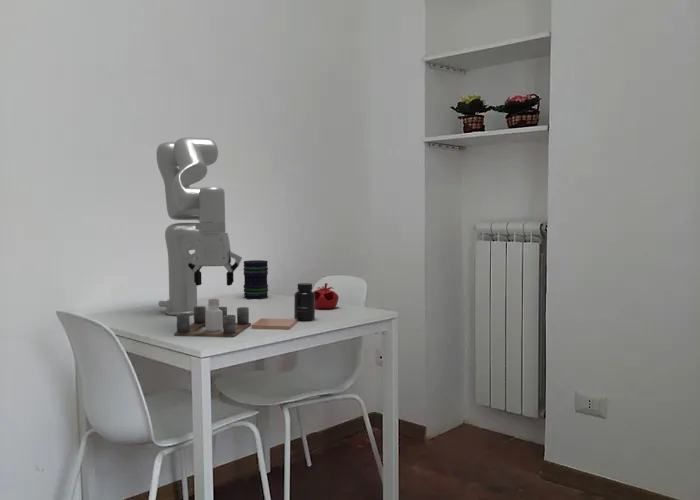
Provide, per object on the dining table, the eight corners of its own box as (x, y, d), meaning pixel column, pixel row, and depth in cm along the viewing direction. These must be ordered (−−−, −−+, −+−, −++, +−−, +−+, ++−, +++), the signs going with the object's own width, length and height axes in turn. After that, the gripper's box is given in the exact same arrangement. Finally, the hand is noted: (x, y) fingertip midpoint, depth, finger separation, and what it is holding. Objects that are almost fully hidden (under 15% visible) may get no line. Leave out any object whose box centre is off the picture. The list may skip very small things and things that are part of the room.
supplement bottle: (299, 322, 209) (299, 285, 208) (291, 318, 215) (290, 283, 214) (318, 320, 212) (318, 284, 211) (310, 317, 218) (309, 282, 217)
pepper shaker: (215, 328, 198) (214, 298, 198) (223, 330, 196) (223, 299, 195) (204, 330, 195) (204, 299, 195) (213, 332, 193) (212, 300, 192)
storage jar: (240, 299, 259) (239, 262, 257) (248, 295, 268) (247, 260, 267) (264, 299, 257) (263, 262, 256) (271, 296, 267) (270, 260, 265)
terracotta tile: (251, 328, 198) (251, 325, 198) (261, 321, 210) (261, 318, 210) (289, 329, 197) (289, 326, 197) (297, 322, 209) (297, 319, 209)
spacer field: (174, 335, 188) (173, 316, 187) (196, 324, 206) (195, 306, 205) (234, 337, 186) (233, 317, 185) (251, 325, 203) (250, 307, 203)
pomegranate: (316, 306, 243) (316, 281, 243) (342, 306, 240) (341, 282, 240) (307, 309, 234) (307, 284, 233) (333, 310, 231) (333, 284, 230)
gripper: (180, 229, 190) (181, 286, 191) (237, 228, 188) (238, 286, 189) (189, 228, 198) (191, 283, 199) (244, 227, 196) (245, 283, 197)
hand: (214, 285), depth 194 cm, fingers open, 9 cm apart
